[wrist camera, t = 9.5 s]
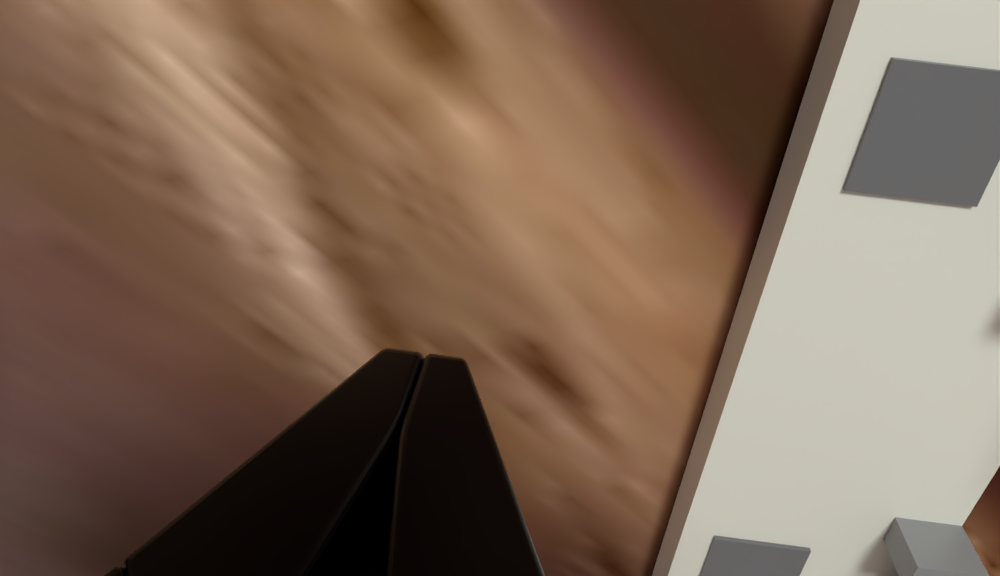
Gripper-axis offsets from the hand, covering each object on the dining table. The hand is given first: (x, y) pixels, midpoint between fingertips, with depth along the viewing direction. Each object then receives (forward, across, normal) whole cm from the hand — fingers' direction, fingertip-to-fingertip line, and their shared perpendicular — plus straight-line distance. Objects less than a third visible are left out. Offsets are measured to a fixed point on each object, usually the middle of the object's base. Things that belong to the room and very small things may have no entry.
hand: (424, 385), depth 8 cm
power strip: (+12, -11, +6) cm, 18 cm away
